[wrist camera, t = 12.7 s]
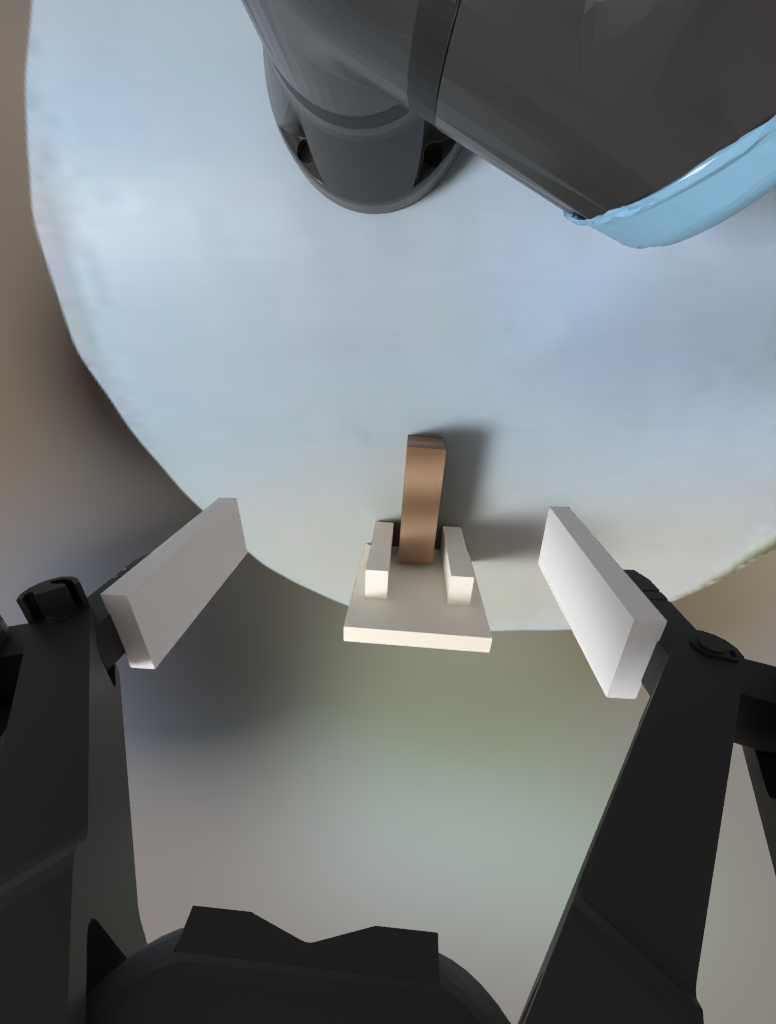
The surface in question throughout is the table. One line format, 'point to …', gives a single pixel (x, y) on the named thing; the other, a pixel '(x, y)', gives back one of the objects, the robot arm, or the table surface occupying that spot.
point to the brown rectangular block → (421, 498)
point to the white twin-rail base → (417, 597)
